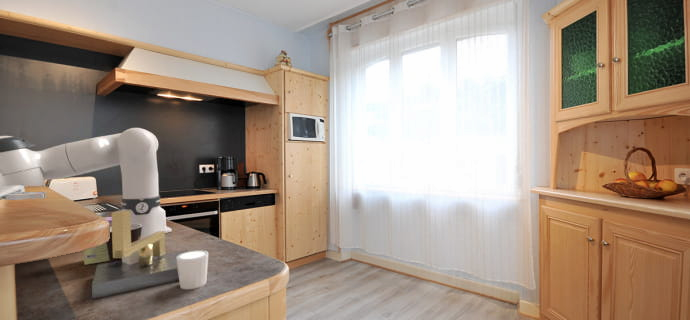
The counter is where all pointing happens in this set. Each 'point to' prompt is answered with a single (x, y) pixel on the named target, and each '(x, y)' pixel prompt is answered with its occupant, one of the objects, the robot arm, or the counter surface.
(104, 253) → the box
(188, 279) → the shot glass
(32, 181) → the robot arm
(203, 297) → the counter surface
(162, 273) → the dark grey base plate
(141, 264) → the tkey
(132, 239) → the coffee mug
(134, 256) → the cover
